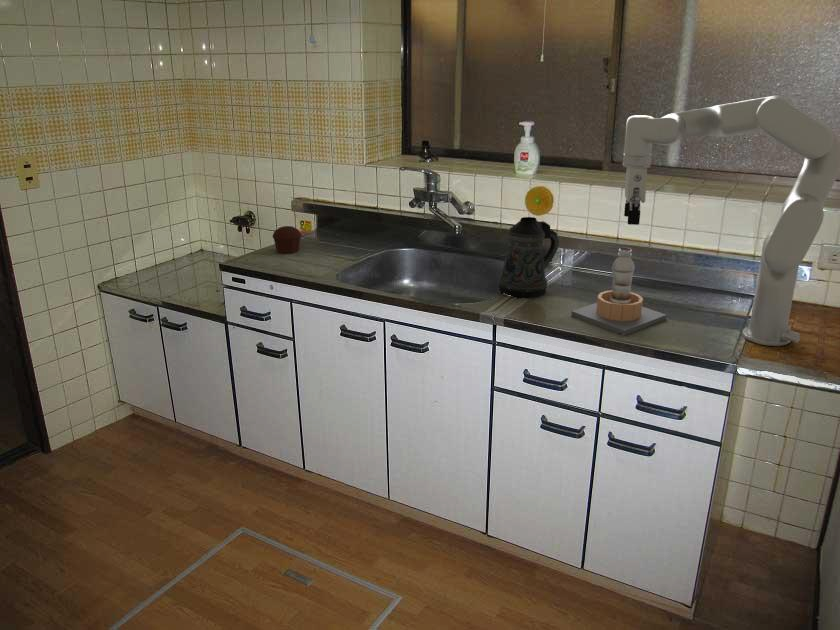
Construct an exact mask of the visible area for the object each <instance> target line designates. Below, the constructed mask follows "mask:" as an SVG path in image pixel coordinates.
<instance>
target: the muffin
mask: <svg viewBox="0 0 840 630" xmlns="http://www.w3.org/2000/svg"><path fill="white" fill-rule="evenodd" d="M301 237H303V236H302V232H301V231H300V230H299V229H298V228H297V227H294V226H290V225H285V226H280V227H278V228H277V229H276V230H275V231H274V232H273V234H272V239H273V241H274V245H275V250H276V253H279V254H282V255H291V254H296V253H298V252H299V251H300V246H301Z"/></svg>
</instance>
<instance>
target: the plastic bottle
mask: <svg viewBox="0 0 840 630" xmlns="http://www.w3.org/2000/svg"><path fill="white" fill-rule="evenodd" d="M632 251H633V250H632V248H630V247H619V249H618V253H617V255H618V257H617V258H616V259H615V260H614V262H613V263H612V290H611V291H612V294H611V298H610V302H611V303H618V304H631V292H632V291H631V289H632V281H633V277H634V272H635V268H636V267H635V263H634V260H632V258H631V257H632V255H633V254H632Z"/></svg>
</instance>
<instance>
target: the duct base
mask: <svg viewBox="0 0 840 630" xmlns="http://www.w3.org/2000/svg"><path fill="white" fill-rule="evenodd" d="M611 294H612V290H605V291H602V292H599V293H598V295H597V297H596V298H597V301H596V302H594V303H592V304H588V305H586V306H583V307H580V308H576V309H574V310H571V315H572V317H574V318H576V317H577V318H576V319H579V318H580V320H582V321H584V320H585V321H584V322H587V321H588V323H590V322H591V323H590V324H592V323H593V325H595V324H596V325H595V326H598V327H600V326H601V328H603V327H604V328H603V329H606V330H608V329H609V331H611V330H612V332H614V331H615V332H614V333H616V332H618V333H617V334H619V333H621V334H620V335H622V334H624V335H623V336H626V335H625V334H627V335H629V334H631V332H632V333H634V331H635V332H637V331H640V330H642V329H644V328H647V327H649V326H652V325H654V324H655V325H656V324H657V323H660V322H663V321H665V320H667V314H665V313H664V312H659V311H657V310H654V309H650V308H648V307H644V306H643V302H644V297H642V296H641V295H639V294H638V293H635V292H632V291H631V304H618V303H611V302H610V298H611ZM628 333H629V334H628Z"/></svg>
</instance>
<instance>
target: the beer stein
mask: <svg viewBox="0 0 840 630" xmlns="http://www.w3.org/2000/svg"><path fill="white" fill-rule="evenodd" d="M506 234H507V237H508V243H507V244H508V245H507V249H506V254H505V259H504V262H503V263H504V264H503V267H502V269H501V272H500V273H501V274H500V275H499V277H498V281H497V282H498V287H499V292H500V294H502V295H503V293H505V294H507V295H511V296H513V297H516V298H515V299H519V298H526V299H530V298H531V299H535V298H536V299H537V298H540V297H542V296H544V295H545V294H546V293H547V291H546V290H547V287H548V281H547V278H546V272H545V268H546V267H547V266H548V264H550V262H551V261H552V260H553V258H554V257H555V255H556V254H557V251H558V249H559V242H560V240H559V237H558V233H557V232H556V231H554V230H552V229H551V225H550V224H549V223H547V222H546V221H544V220H543V221H539V220H537V218H536V217H534V216H533V217H532V216H524V217H521V218H520V220H519V221H518V222H517V223H515V224H514V225H512V226H511V227H510V228H509V229H508V230H507V233H506ZM545 239H550V245H549V247H548V250H547V251H546V252H545V254H544V247H543V241H544V240H545ZM513 297H512V298H513Z"/></svg>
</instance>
